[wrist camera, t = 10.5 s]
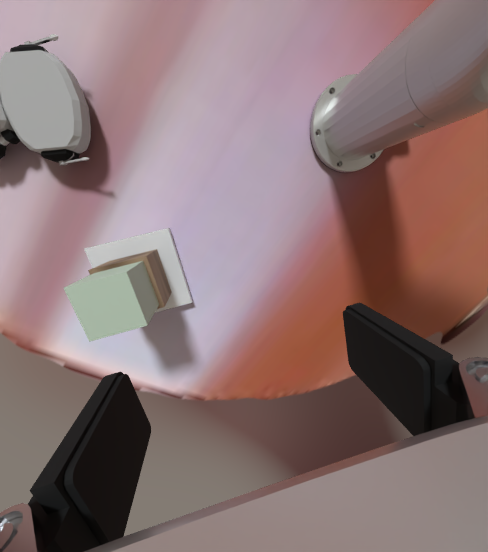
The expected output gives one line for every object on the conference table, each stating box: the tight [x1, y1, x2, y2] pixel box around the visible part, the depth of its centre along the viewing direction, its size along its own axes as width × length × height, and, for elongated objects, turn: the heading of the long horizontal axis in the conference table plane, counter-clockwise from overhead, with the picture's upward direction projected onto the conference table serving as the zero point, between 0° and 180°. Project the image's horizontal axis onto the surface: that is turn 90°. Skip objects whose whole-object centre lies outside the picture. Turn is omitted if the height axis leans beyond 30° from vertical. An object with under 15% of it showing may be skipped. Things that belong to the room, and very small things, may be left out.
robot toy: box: [0, 34, 91, 165], centre depth 27 cm, size 12×4×15 cm
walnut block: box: [88, 249, 172, 309], centre depth 32 cm, size 7×7×6 cm
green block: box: [64, 261, 159, 342], centre depth 26 cm, size 6×6×6 cm
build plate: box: [84, 228, 192, 313], centre depth 35 cm, size 12×12×1 cm
